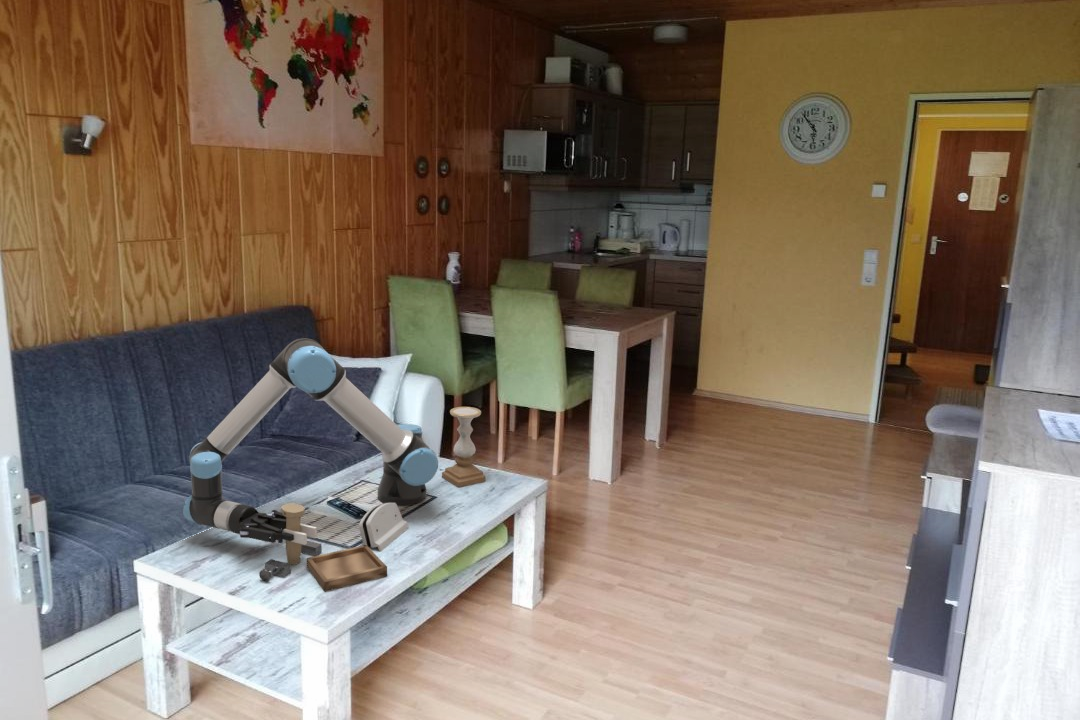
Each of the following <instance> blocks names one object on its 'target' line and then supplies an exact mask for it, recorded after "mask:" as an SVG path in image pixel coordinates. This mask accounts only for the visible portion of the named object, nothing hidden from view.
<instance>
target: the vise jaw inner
mask: <svg viewBox="0 0 1080 720" xmlns="http://www.w3.org/2000/svg"><path fill="white" fill-rule="evenodd" d="M301 554H304V555H306V556H307V555H308V556H310V557H313V556H318V555H321V554H323V551H322V543H318V542H315V541H310V540H307V544H306V545H303V544H302V548H301Z"/></svg>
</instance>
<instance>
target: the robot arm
mask: <svg viewBox="0 0 1080 720" xmlns="http://www.w3.org/2000/svg"><path fill="white" fill-rule="evenodd" d="M268 367H269V370H268V371H267V373H266V374H265V375H264V376H263V377H262V378H261V379H260V380H259V381H258V382H257V383H256V384H255V385H254V387H253V388H252V389H251V390H249V392H248V393H247V394H246V395H245V396H244V397H243V399H241V400H240V402H239V403H238V404H236V406H235V407H234V408H233V409H232V410H231V411H230V412H229V413H228V414H227V415H226V416H225V418H224V419H223V420H222V421H220V423H219V424H218V425H217V426H216V427H215V428H214V429H213V431H211V432H210V433H209V435H208V436H207V437H206V438H205V439H204V440H203V441H202V442H199V443H196V444H195V445H194V446H192V448H191V450H190V453H189V458H188V459H189V460H188V462H189V465H190V466H189V470H190V471H189V472H190V480H191V495H190V496H188V498H186V500H185V502H184V506H183V507H182V513H183V516H184V518H185V519H186V520H187V521H190V522H192V523H195V524H196V525H199V526H200V525H201V526H202V525H203V526H205V527H211V528H215V529H220V530H223V531H227V532H232V533H233V534H238V535H239V537H240V538H241V539H242V538H243V539H253V540H257V541H263V542H266V543H273V544H274V543H276V541H278V544H282V543H283V541H286V540H287V541H291V542H295V543H299V544H303V545H306V544H307V541H308V538H312V539H317V538H318V527H317V526H312V525H308V524H304V523H300V528H301V532H297V531H293V530H289V529H286V517H285V516H284V515H283V514H282V512H280V511H278V510H277V509H272V510H271V513H265V512H258V510H257V509H256V507H254V506H253V505H249V504H247V505H246V504H243V503H239V502H235V501H231V500H226V499H223V498H224V497H223V494H224V493H223V492H224V491H223V471H222V470H223V465H222V462H223V461H224V460H225V459H226V458H227V457H228V455H230V454H231V452H233V450H234V449H235V448H236V447H237V446H238V445H239V444H240V443H241V442H242V440H244V438H245V437H246V436H247V435H248V434H249V433H250V432H251V431H252V430H253V429H254V428H255V426H256V425H258V424H259V422H260V421H261V420H262V419H263V418H264V417H265V416H266V415H267V414H268V413H269V411H270V410H272V408H273V407H274V406H275V405H276V404H277V403H278V402H279V401H280V400H281V399H282V398H283V397H284V395H285V394H287V392H289V390H290V389H292V388H293V389H296V388H298V389H300V390H301V391H303V392H305V393H306V394H307V395H309V397H311V398H312V399H313V400H314V401H315V402H318V401H320V402H321V401H324V402H325V403H326V404H327V405H328V406H329V407H330V408H332V409H333V410H334V411H335V412H336V413H337V414H338V415H340V416H341V417H342V418H343V419H344V420H345V422H347V423H349V424H350V425H351V427H353V428H354V429H355V430H356V431H358V432H359V433H360V434H361V435H362V437H365V439H366V440H368V441H369V442H370V443H371V444H372V445H373V446H374V447H376V448H377V450H379V451H380V452H381V453H382V456H381V457H382V461H383V462H382V463H383V465H382V466H383V468H382V469H383V474H382V475H381V479H380V481H379V485H378V487H377V499H378V500H379V501H380V502H381V503H383V502H384V503H383V504H385V503H396V504H397V506H410V505H409V504H411V505H416V504H418V503H421V502H423V501H424V500H426V498H427V486H426V484H427V483H429V482H430V481H432V479H433V478H434V477H435V476H436V474H437V472H438V469H439V459H438V457H437V455H436V452H435V451H434V450H432V449H431V448H430V447H429V446H428V444H426V442H425V441H424V440H423V438H422V437H423V430H422V427H421V426H420V425H418V424H411V423H401V424H400V423H399V424H397V423H395V422H394V421H393V420H392V419H391V418H390V417H389V416H388V415H387V414H386V413H385V412H384V411H382V409H380V407H378V406H377V405H376V404H375V403H374V402H373V401H372V400H370V398H369V397H367V396H366V395H365V394H364V393H363V392H362V391H361V390H360V389H358V387H356V386H355V384H354V383H352V382H351V380H349V379H348V378H347V376H346V375H347V372H346V369H345V368H344V367H343V366H342V365H341V364H340V363H339V362H338V361H336V359H335V358H333V357H332V355H330V353H328V352H327V351H326V350H325V349H324V347H323V346H322V345H321V344H320V343H319V342H317V341H316V340H314V339H311V338H305V337H304V338H303V337H301V338H297V339H294V340H293V341H291V342H290V343H289V344H288V345H286V346H285V347H284V349H282V351H281V352H280V353H279V354H278V355H277V357H275V359H274V360H272V362H271V363H270V364H269V366H268ZM415 503H416V504H415Z"/></svg>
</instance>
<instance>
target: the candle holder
mask: <svg viewBox="0 0 1080 720" xmlns="http://www.w3.org/2000/svg"><path fill="white" fill-rule="evenodd" d="M449 413H450V415H451V416H452V417H455V418H457V419H458V421H459V426H458V427H457V428H456V431H457V432H458V434H459V438H458V440H457V441H456V442H455V443H454V446H453V453H454V455H455V458H454V462H455V464H454V465H452V466H450V467H446V468H445V469H444V471H442V472H441V479H444V480H445V481H446V482H448V483H450V484H451V485H453V486H454V487H456V488H464V487H467V486H474V485H476V484H481V483H485V482H486V481H487V480H486V475H485V474H484V472H483V471H482V470H480V469H479V468H478V467H476V466H475V465H474V464H473V462H474V457H473V456H474V454H476V451H477V450H476V446H475V444H474V442H473V441H472V439H471V434H472V432H473V431H474V428H473V427H472V425H471V422H472V420H473V419H474V418H475V419H476V418H478V417H480V416H481V414H482V410H480V409H479V408H477V407H473V406H472V407H471V406H458V407H457V406H456V407H453V408H451V409H450V410H449Z"/></svg>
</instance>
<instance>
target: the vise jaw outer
mask: <svg viewBox="0 0 1080 720" xmlns="http://www.w3.org/2000/svg"><path fill="white" fill-rule="evenodd" d="M291 566H292V564H289V563H288V562H284V561H280V560H276V559H274V558H273V559H271V558H270V559H268V560H267V561H266V562H264V568H262V569H261V570H260V571H259V573H258V575H259V578H260V580H261V581H263V582H268V581H270V580H271V578H272V576H273V575H274V576H277V577H281V578H284V579H285V578H286V577H287V576H290V574H291V573H292V567H291Z"/></svg>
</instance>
